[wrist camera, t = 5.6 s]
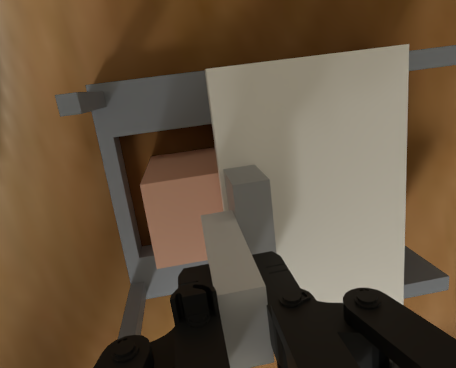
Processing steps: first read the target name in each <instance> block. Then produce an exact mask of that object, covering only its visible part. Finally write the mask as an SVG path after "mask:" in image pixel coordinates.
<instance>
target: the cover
mask: <svg viewBox="0 0 456 368" xmlns="http://www.w3.org/2000/svg"><path fill="white" fill-rule="evenodd" d="M408 76H409V44H405V45H397V46H389V47H380V48H372V49H364V50H356V51H348V52H340V53H331V54H323V55H315V56H307V57H299V58H291V59H283V60H274V61H266V62H258V63H250V64H242V65H234V66H225V67H217V68H209V69H205V77H206V84H207V92H208V99H209V107H210V114H211V122H212V129H213V136H214V144H215V151H216V159H217V166H218V174H219V181H220V189H221V196H222V204H223V211H229V210H232V211H233V214H234V216H235V218H236V220H237V223H238V225H239V227H240V229H241V232H242V234H243V236H244V238H245V241H246V243H247V245H248V247H249V250H250V252H251V254H252V255H253V254H258V253H264V252H269V251H273V252H275V253H276V254H278V255H280V256H281V257H282V259H283V261H284V262H285V265H287V267H288V269H289V270H290V272H291V274H292V275H293V277H294V278H295V280H296V282H297V283H298V285H299V287H300V288H301V289H304V290H306V291H309V292H310V293H311V294H312V295H313V296H314V298H315V299H316V301H321V302H329V303H343V297H344V295H345V293H346V292H348V291H350V290H351V289H356V288H371V289H376V290H379V291H381V292H383V293H385V294H387V295H388V296H390V297H391V298H393V299H394V300H396V301H398V302H399V303H401V304H402V305H403V298H404V253H405V209H406V165H407V121H408Z"/></svg>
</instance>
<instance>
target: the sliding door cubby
mask: <svg viewBox="0 0 456 368" xmlns="http://www.w3.org/2000/svg"><path fill="white" fill-rule="evenodd" d="M451 65H456V45H453V46H445V47H437V48H429V49H421V50H413V51H409V71H412V70H420V69H428V68H435V67H443V66H451ZM86 90H87V92H76V93H68V94H60V95H55V98H56V102H57V106H58V109H59V113H60V117H61V116H68V115H76V114H83V113H86V112H90V111H91V112H92V116H93V120H94V125H95V129H96V134H97V138H98V142H99V147H100V151H101V155H102V160H103V164H104V169H105V173H106V177H107V182H108V186H109V191H110V195H111V199H112V204H113V208H114V213H115V217H116V221H117V226H118V230H119V235H120V239H121V243H122V248H123V252H124V256H125V261H126V265H127V270H128V274H129V278H130V283H131V286H130V290H129V294H128V298H127V302H126V307H125V311H124V315H123V319H122V324H121V328H120V332H119V336H118V339H120V338H122V337H125V336H129V335H141V328H142V321H143V315H144V308H145V301H146V299H150V298H155V297H161V296H166V295H172V294H173V293H174V292H175V291H176V289H178V276H179V274H180V273H181V271H182V270H183V268H189V267H194V266H199V265H205V264H208V260H205V261H200V262H194V263H188V264H183V265H177V266H172V267H166V268H160V269H157V267H156V262H155V257H154V252H153V247H152V245H147V246H142V245H141V240H140V236H139V231H138V226H137V221H136V217H135V212H134V207H133V202H132V198H131V193H130V188H129V183H128V179H127V174H126V169H125V164H124V160H123V155H122V150H121V145H120V141H119V137H120V136H127V135H134V134H142V133H149V132H156V131H163V130H170V129H178V128H185V127H192V126H199V125H206V124H212V122H211V114H210V107H209V99H208V92H207V84H206V77H205V70H204V71H196V72H188V73H180V74H172V75H164V76H156V77H147V78H139V79H131V80H123V81H115V82H107V83H99V84H91V85H86ZM448 287H449V276H448V275H447V274H445V273H444V272H442V271H441V270H439V269H438V268H437V267H435V266H434V265H432V264H431V263H429V262H428V261H426V260H425V259H424V258H422V257H421V256H419V255H418V254H416V253H415V252H413V251H412V250H411V249H409V248H408V247H406V246H405V253H404V298H403V299H405V298H410V297H415V296H420V295H425V294H430V293H435V292H440V291H445V290H448Z"/></svg>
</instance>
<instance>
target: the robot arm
mask: <svg viewBox="0 0 456 368" xmlns="http://www.w3.org/2000/svg"><path fill="white" fill-rule="evenodd" d="M200 216H201V222H202V228H203V234H204V240H205V246H206V252H207V259H208V264H205V265H199V266H194V267H189V268H183V270H182V271H181V273H180V274H179V276H178V289H176V291H175V292H174V293H173V294H172V295H171V298H170V302H171V307H172V312H173V317H174V322H175V327H174V328H173V329H172V330H171V331H170V332H169V333H167V334H166V335H165V336H163V337H161V338H159V339H157V340H155V341H152V342H149V340H148V339H147V338H146V337H144V336H142V335H129V336H125V337H122V338H120V339H118V340H116V341H114V342H113V343H111V344H110V345H109V346H108V347H107V348H106V349H105V350H104V351H103V353H102V354H101V356H100V358H99V359H98V361H97V363H96V364H95V366H94V368H250V367H255V366H259V365H264V364H268V363H273V362H274V355H273V352H274V354H275V357H276V360H277V366H278V368H456V339H455V338H453V337H451V336H450V335H448V334H447V333H445V332H444V331H442V330H441V329H439V328H438V327H436V326H434V325H433V324H431V323H430V322H428V321H427V320H425V319H424V318H422V317H421V316H419V315H418V314H416V313H414V312H413V311H411V310H410V309H408V308H407V307H405V306H404V305H402V304H401V303H399V302H398V301H396V300H394V299H393V298H391V297H390V296H388V295H387V294H385V293H383V292H381V291H379V290H376V289H371V288H356V289H351V290H350V291H348V292H346V293H345V295H344V297H343V303H329V302H321V301H316V299H315V298H314V296H313V295H312V294H311V293H310V292H309V291H306V290H304V289H301V288H300V287H299V285H298V283H297V282H296V280H295V278H294V277H293V275H292V274H291V272H290V270H289V269H288V267H287V265H285V262H284V261H283V259H282V257H281V256H280V255H278V254H276V253H275V252H273V251H269V252H264V253H258V254H253V255H252V254H251V252H250V250H249V247H248V245H247V243H246V241H245V238H244V236H243V234H242V232H241V229H240V227H239V225H238V223H237V220H236V218H235V216H234V214H233V211H232V210H229V211H223V212H218V213H212V214H206V215H200Z"/></svg>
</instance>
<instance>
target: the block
mask: <svg viewBox="0 0 456 368" xmlns="http://www.w3.org/2000/svg"><path fill="white" fill-rule="evenodd" d="M140 188H141V193H142V198H143V203H144V208H145V213H146V218H147V223H148V228H149V233H150V237H151V242H152V247H153V252H154V257H155V262H156V267H157V269H160V268H166V267H172V266H177V265H183V264H188V263H194V262H200V261H205V260H208V259H207V252H206V246H205V240H204V234H203V228H202V222H201V216H200V215H206V214H212V213H218V212H223V204H222V196H221V189H220V181H219V174H218V166H217V159H216V151H215V147H213V148H206V149H199V150H192V151H185V152H179V153H172V154H165V155H158V156H151V158H150V160H149V163H148V166H147V168H146V171H145V173H144V176H143V178H142V181H141V183H140Z"/></svg>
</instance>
